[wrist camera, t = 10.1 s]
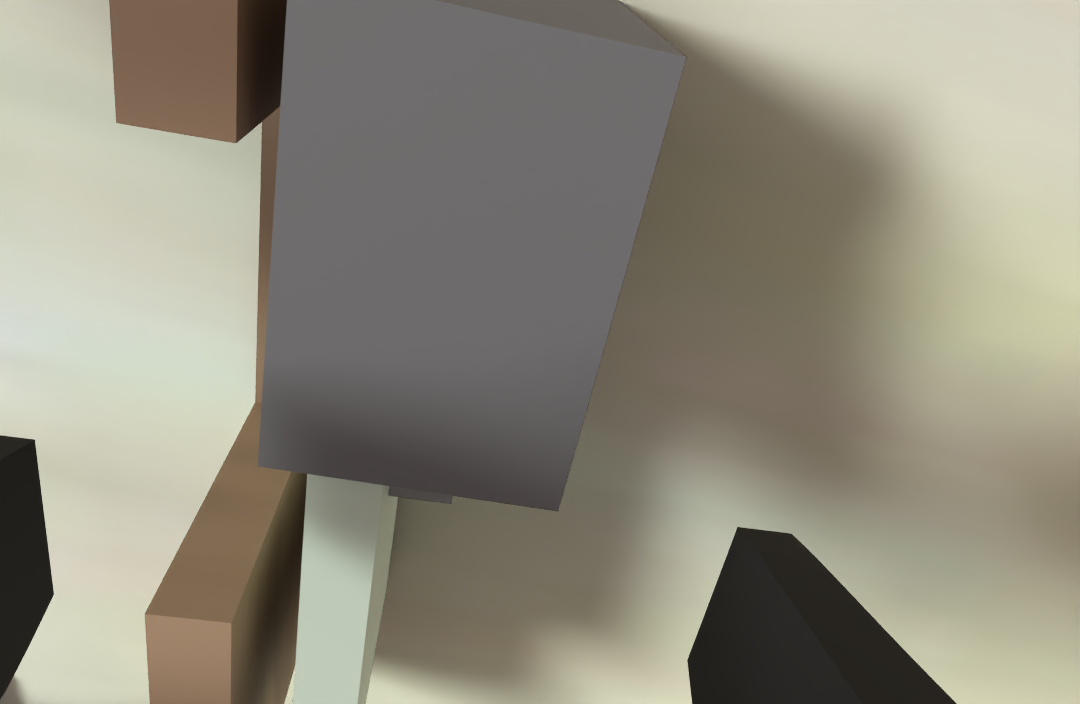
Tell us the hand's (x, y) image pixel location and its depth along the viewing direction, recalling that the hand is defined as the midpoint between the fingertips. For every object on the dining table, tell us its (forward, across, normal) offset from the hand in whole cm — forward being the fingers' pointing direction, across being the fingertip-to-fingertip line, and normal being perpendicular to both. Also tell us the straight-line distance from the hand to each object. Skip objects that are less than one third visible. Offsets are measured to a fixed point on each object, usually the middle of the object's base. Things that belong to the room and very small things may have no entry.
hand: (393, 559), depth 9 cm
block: (+8, 0, -2) cm, 8 cm away
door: (+8, +1, +4) cm, 9 cm away
